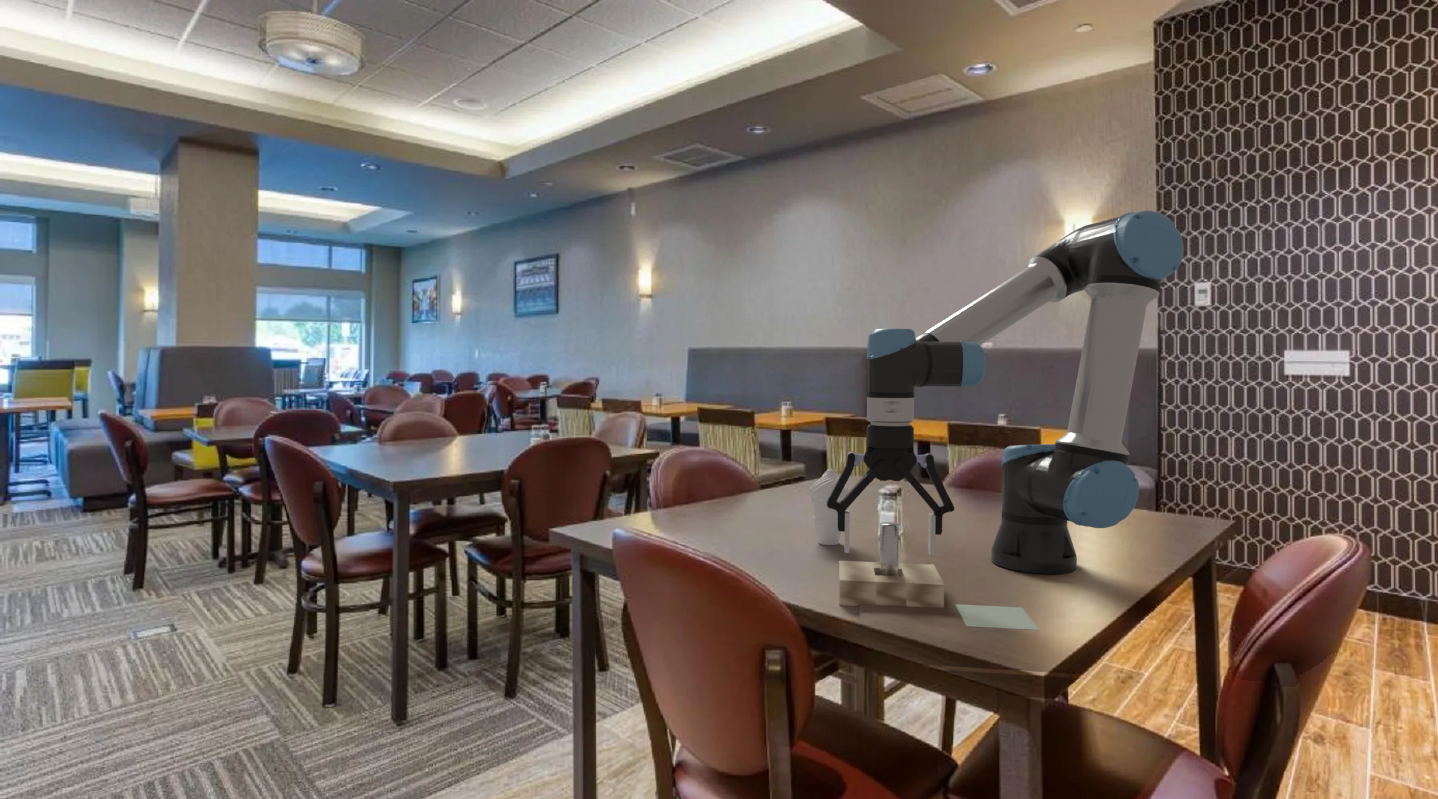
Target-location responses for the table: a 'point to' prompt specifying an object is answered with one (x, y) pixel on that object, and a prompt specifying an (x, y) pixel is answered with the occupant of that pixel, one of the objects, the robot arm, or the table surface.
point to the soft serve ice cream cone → (826, 508)
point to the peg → (889, 548)
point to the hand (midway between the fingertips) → (888, 552)
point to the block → (890, 585)
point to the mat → (996, 617)
